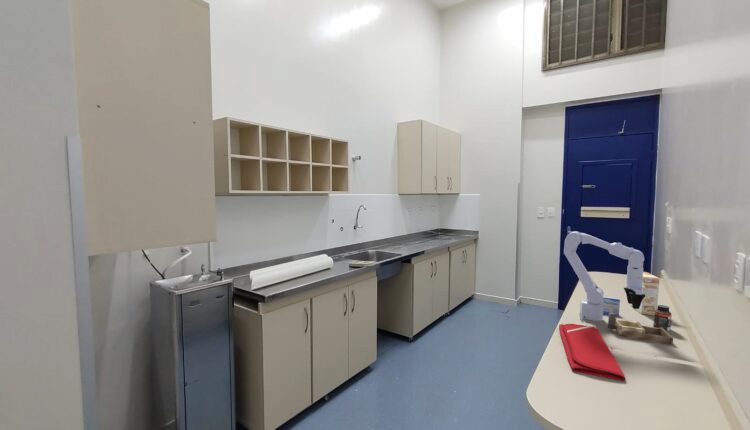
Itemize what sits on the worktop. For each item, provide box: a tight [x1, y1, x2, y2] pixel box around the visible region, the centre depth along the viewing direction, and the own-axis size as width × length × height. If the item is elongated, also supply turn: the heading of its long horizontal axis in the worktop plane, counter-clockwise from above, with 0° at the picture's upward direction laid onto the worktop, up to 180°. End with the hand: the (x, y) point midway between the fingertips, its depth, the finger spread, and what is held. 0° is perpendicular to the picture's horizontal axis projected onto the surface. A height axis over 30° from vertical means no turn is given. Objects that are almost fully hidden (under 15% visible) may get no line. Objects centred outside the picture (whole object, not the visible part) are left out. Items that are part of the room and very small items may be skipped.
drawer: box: [607, 313, 646, 337], centre depth 148 cm, size 12×9×8 cm
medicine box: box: [602, 295, 621, 317], centre depth 175 cm, size 8×4×9 cm, turn 68°
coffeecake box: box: [629, 271, 661, 316], centre depth 181 cm, size 15×7×20 cm, turn 161°
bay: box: [622, 325, 674, 346], centre depth 146 cm, size 19×16×4 cm
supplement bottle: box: [652, 304, 672, 332], centre depth 154 cm, size 6×6×11 cm
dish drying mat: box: [558, 323, 627, 382], centre depth 133 cm, size 16×41×4 cm, turn 158°
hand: (633, 306), depth 155 cm, fingers open, 7 cm apart
